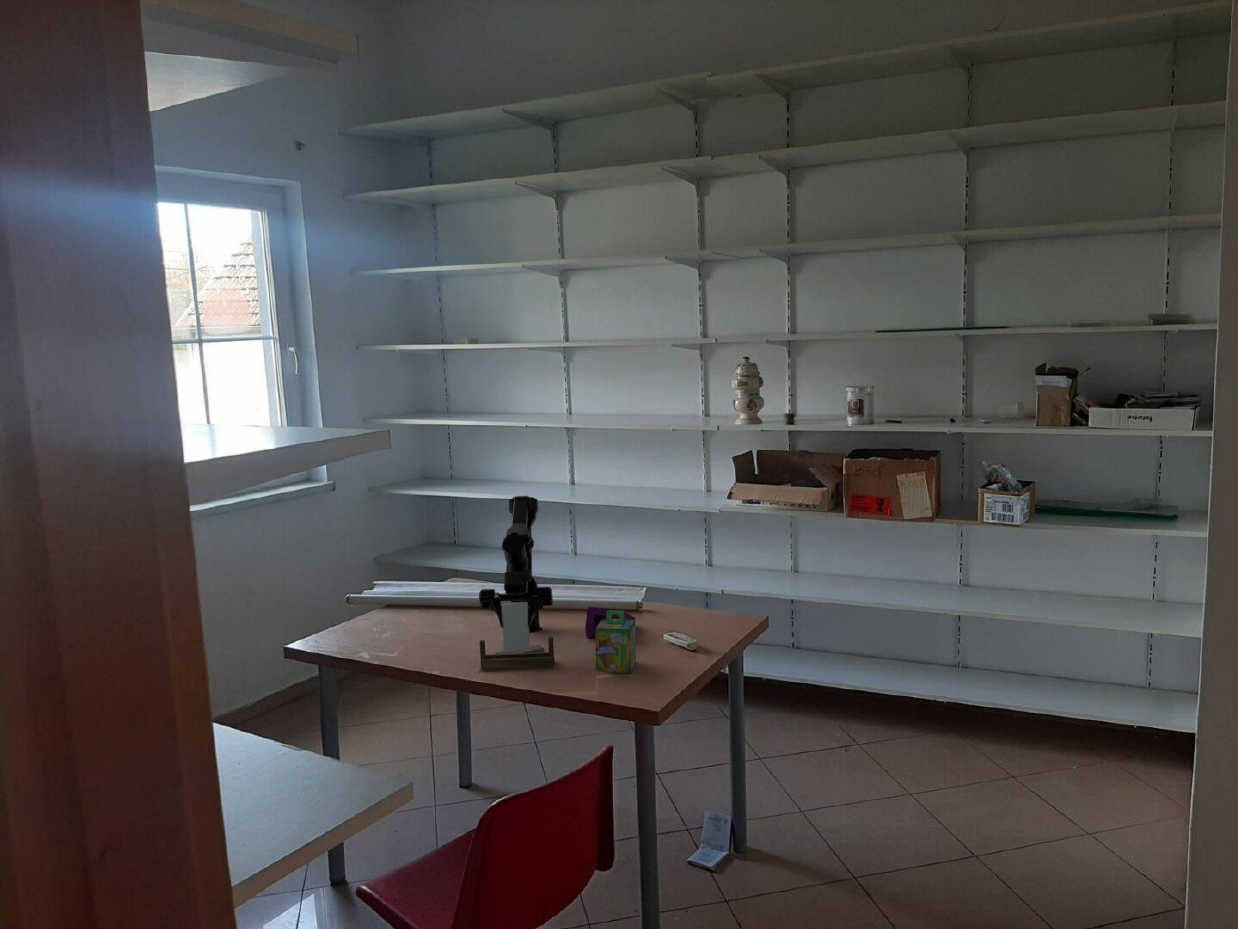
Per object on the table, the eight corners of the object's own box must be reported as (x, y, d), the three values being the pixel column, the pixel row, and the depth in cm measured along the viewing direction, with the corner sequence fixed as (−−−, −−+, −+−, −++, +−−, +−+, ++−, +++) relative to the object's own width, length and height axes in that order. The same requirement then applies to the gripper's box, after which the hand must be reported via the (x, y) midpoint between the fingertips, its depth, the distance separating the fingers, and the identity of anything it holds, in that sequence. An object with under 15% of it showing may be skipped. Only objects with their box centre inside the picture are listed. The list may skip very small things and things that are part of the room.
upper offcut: (495, 657, 244) (495, 651, 244) (536, 648, 251) (536, 643, 250) (503, 662, 240) (502, 656, 240) (544, 653, 246) (544, 647, 246)
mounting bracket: (606, 646, 272) (583, 637, 256) (609, 617, 275) (587, 606, 259) (636, 648, 269) (615, 639, 253) (639, 620, 272) (619, 609, 256)
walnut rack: (482, 664, 242) (481, 636, 241) (555, 661, 242) (554, 633, 241) (479, 675, 234) (477, 645, 233) (554, 672, 234) (552, 642, 233)
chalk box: (595, 673, 232) (593, 616, 231) (602, 661, 241) (600, 606, 240) (631, 674, 231) (629, 616, 229) (637, 662, 240) (635, 606, 238)
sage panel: (504, 648, 238) (502, 602, 237) (529, 647, 238) (527, 601, 237) (503, 650, 236) (501, 604, 235) (529, 649, 236) (527, 604, 235)
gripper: (477, 559, 238) (474, 612, 228) (550, 556, 238) (549, 609, 229) (483, 581, 247) (480, 633, 237) (552, 578, 247) (552, 631, 238)
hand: (515, 626), depth 235 cm, fingers closed on sage panel, 6 cm apart
